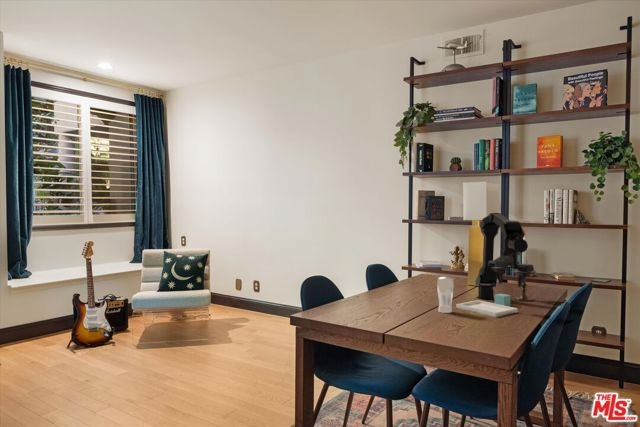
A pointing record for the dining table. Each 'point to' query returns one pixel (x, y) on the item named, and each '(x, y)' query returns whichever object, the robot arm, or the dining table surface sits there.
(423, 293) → the dining table surface
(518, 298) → the candlestick
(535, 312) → the dining table surface
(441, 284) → the beer glass
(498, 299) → the block
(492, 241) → the robot arm
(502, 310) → the tray
